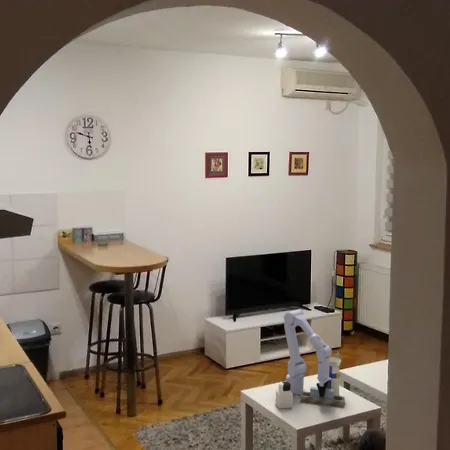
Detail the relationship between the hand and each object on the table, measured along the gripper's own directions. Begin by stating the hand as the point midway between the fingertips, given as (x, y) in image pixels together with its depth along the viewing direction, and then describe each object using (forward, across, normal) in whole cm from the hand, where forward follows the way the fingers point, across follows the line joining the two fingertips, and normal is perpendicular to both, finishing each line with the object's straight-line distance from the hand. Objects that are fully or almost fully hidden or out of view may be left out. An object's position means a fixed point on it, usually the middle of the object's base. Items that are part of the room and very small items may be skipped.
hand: (322, 394), depth 315 cm
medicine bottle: (+4, -11, +18) cm, 21 cm away
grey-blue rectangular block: (+3, 0, 0) cm, 3 cm away
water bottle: (+4, +12, -4) cm, 13 cm away
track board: (+4, 0, 0) cm, 4 cm away
